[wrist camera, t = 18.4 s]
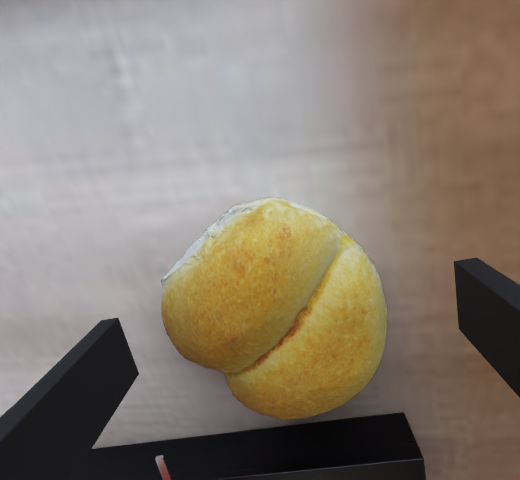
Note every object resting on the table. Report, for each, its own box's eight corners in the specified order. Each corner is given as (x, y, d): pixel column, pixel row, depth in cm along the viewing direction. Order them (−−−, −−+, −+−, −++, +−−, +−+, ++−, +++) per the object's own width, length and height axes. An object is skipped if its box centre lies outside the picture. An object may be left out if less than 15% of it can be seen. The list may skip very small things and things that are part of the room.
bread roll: (284, 410, 17) (284, 490, 13) (146, 289, 15) (100, 340, 12) (422, 307, 15) (470, 367, 11) (276, 156, 13) (272, 165, 9)
